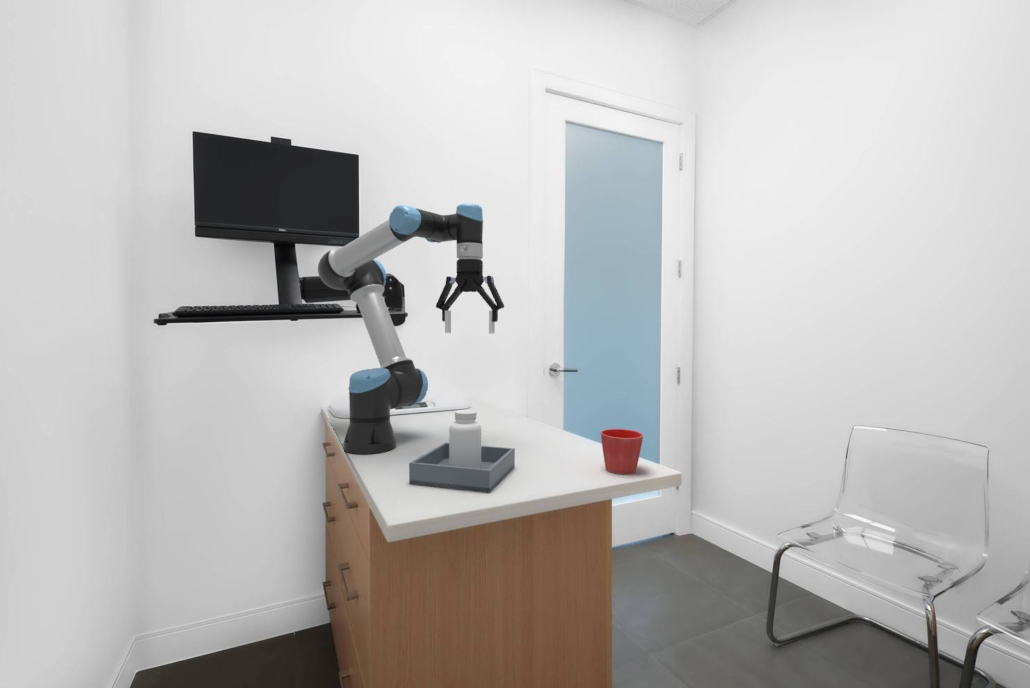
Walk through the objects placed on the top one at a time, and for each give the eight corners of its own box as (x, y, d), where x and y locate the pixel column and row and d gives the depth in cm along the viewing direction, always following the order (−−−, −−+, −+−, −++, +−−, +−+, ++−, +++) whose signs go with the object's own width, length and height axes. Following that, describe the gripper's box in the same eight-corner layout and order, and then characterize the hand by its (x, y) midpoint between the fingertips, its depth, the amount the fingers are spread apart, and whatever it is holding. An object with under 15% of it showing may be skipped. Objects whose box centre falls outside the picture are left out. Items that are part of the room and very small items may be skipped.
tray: (409, 483, 117) (409, 463, 117) (444, 460, 136) (444, 442, 136) (489, 492, 111) (489, 470, 111) (514, 467, 131) (514, 448, 130)
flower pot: (636, 464, 134) (637, 428, 134) (646, 476, 123) (647, 438, 123) (597, 463, 134) (597, 428, 134) (603, 476, 124) (604, 437, 123)
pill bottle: (486, 468, 126) (486, 409, 125) (473, 477, 119) (472, 415, 118) (458, 465, 129) (458, 407, 128) (443, 474, 121) (443, 413, 121)
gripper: (424, 259, 143) (424, 332, 144) (507, 256, 136) (506, 334, 137) (435, 262, 150) (435, 332, 151) (514, 259, 143) (514, 333, 144)
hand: (469, 333), depth 144 cm, fingers open, 13 cm apart
